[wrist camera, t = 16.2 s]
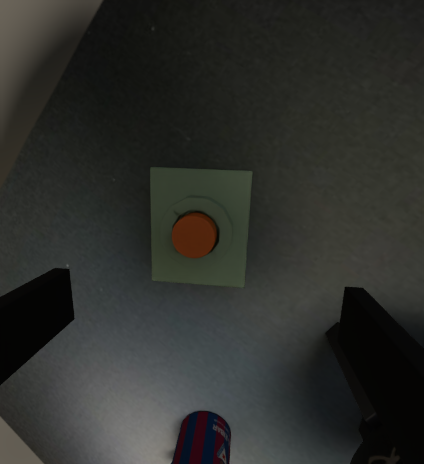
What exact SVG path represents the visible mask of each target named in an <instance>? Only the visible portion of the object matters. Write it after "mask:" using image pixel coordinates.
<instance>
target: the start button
mask: <svg viewBox="0 0 424 464" xmlns="http://www.w3.org/2000/svg"><path fill="white" fill-rule="evenodd" d="M216 238H217V230H216V226H215V224H214V223H213V221H212V220H211V219H210V218H209V217H208V216H206V215H204V214H201V213H190V214H187V215H185V216H184V217H182V218H181V219H180V220H179V221H178V222H177V223H176V224H175V226H174V228H173V230H172V242H173V244H174V247H175V248H176V249H177V251H178V252H179V253H181V254H182V255H184V256H186V257H189V258H200V257H203V256H205V255H207V254H208V253H209V252H210V251H211V250H212V248H213V246H214V244H215V241H216Z"/></svg>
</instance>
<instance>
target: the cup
mask: <svg viewBox="0 0 424 464" xmlns="http://www.w3.org/2000/svg"><path fill="white" fill-rule="evenodd" d="M230 440H231V432H230V429H229V426H228V425H227V423H226V422H225V421H224V420H223V419H222V418H221V417H219V416H218V415H216V414H213V413H210V412H204V411H202V412H195V413H192V414H190V415H188V416H187V417H186V418H185V419H184V420H183V422H182V424H181V428H180V432H179V436H178V440H177V444H176V449H175V453H174V457H173V461H172V463H171V464H229V460H230Z"/></svg>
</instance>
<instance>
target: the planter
mask: <svg viewBox="0 0 424 464" xmlns="http://www.w3.org/2000/svg"><path fill="white" fill-rule="evenodd" d="M339 325H340V323H336V324H335V325H334V326H333V327H332V328H331V329H330V330H329V331H328V332H326V336H327V338H328V340H329V343H330V345H331V347H332V349H333V351H334V354H335V356H336V358H337V360H338V363H339V365H340V367H341V369H342V371H343V374H344V376H345V378H346V380H347V382H348V385H349V387H350V389H351V391H352V393H353V396H354V398H355V400H356V402H357V404H358V407H359V409H360V411H361V413H362V416H363V418H364V419H362V421H361V424H360V427H359V432H360V434H361V437H362V439H363V442H362V443H361V444H360V446H359V448H358V449H357V451H356V452H355V454H354V455H353V457H352V459H351V462H350V464H403V462H402V460H401V458H400V457H399V455H398V453H397V451H396V449H395V447H394V445H393V444H392V442H391V440H390V438H389V436H388V434H387V432H386V431H385V429H384V427H383V425H382V423H381V421H380V419H379V418H378V416H377V414H376V412H375V410H374V408H373V407H372V405H371V403H370V401H369V399H368V397H367V395H366V394H365V392H364V390H363V388H362V386H361V384H360V382H359V381H358V379H357V377H356V375H355V373H354V371H353V369H352V368H351V366H350V364H349V362H348V360H347V358H346V356H345V355H344V353H343V351H342V349H341V347H340V345H339V344H338V342H337V339H338V332H339Z"/></svg>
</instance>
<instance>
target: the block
mask: <svg viewBox="0 0 424 464" xmlns="http://www.w3.org/2000/svg"><path fill="white" fill-rule="evenodd" d="M251 186H252V171H243V170H217V169H191V168H165V167H150V192H151V251H152V281H163V282H176V283H188V284H200V285H212V286H224V287H236V288H244V287H245V273H246V258H247V244H248V230H249V215H250V201H251ZM190 213H201V214H204V215H206V216H208V217H209V218H210V219H211V220H212V221H213V223H214V224H215V226H216V230H217V238H216V241H215V244H214V246H213V248H212V250H211V251H210V252H209V253H208V254H207V255H205V256H203V257H200V258H189V257H186V256H184V255H182V254H181V253H179V252H178V251H177V249H176V248H175V247H174V244H173V242H172V230H173V228H174V226H175V224H176V223H177V222H178V221H179V220H180V219H181V218H182V217H184V216H185V215H187V214H190Z"/></svg>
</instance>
